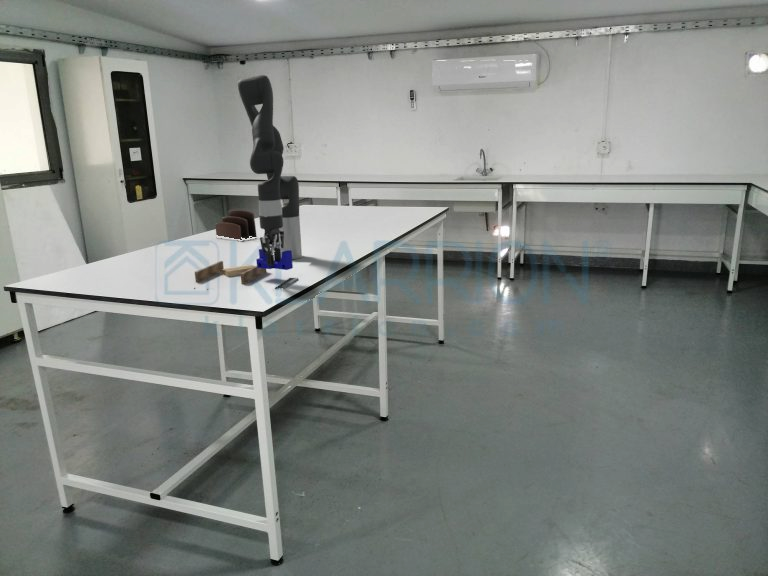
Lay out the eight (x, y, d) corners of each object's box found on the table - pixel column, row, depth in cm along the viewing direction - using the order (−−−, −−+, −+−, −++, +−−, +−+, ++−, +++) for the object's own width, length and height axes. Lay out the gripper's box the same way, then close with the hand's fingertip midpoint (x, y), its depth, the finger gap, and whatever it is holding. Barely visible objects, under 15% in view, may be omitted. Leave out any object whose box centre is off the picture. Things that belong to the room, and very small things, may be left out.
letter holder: (232, 235, 289) (229, 208, 285) (257, 239, 277) (254, 210, 273) (216, 238, 281) (213, 210, 278) (241, 242, 269) (238, 213, 266)
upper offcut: (222, 274, 198) (222, 268, 197) (251, 269, 204) (251, 264, 203) (227, 277, 194) (227, 271, 193) (257, 272, 200) (256, 266, 199)
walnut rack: (221, 274, 204) (220, 261, 202) (266, 276, 199) (265, 262, 198) (196, 286, 188) (194, 271, 186) (244, 288, 184) (243, 273, 182)
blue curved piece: (257, 267, 188) (255, 250, 187) (266, 265, 192) (264, 247, 190) (283, 270, 182) (282, 252, 181) (292, 268, 186) (291, 250, 184)
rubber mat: (269, 278, 196) (268, 277, 195) (298, 279, 193) (298, 278, 193) (253, 287, 184) (253, 285, 184) (284, 288, 182) (284, 286, 182)
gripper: (269, 210, 190) (273, 259, 195) (250, 216, 177) (254, 268, 181) (289, 211, 188) (293, 259, 193) (271, 216, 175) (275, 269, 179)
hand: (274, 263), depth 187 cm, fingers closed on blue curved piece, 5 cm apart
